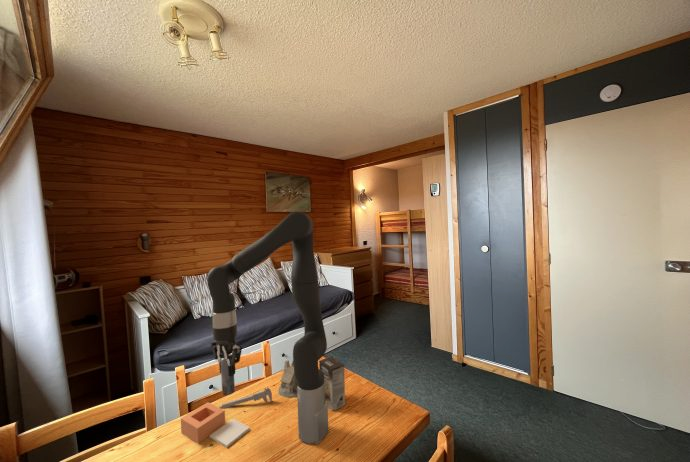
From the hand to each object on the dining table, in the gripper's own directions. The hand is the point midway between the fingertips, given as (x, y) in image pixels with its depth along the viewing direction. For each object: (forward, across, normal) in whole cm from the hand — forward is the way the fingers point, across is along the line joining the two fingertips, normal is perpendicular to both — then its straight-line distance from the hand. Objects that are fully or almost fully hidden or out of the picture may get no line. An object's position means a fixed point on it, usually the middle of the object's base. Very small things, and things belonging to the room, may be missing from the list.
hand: (227, 373), depth 92 cm
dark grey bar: (+6, 0, 0) cm, 6 cm away
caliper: (+21, +8, -13) cm, 26 cm away
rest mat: (+21, 0, 0) cm, 21 cm away
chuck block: (+20, +11, +3) cm, 23 cm away
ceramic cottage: (+21, -4, -32) cm, 38 cm away
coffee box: (+22, -22, -30) cm, 43 cm away
